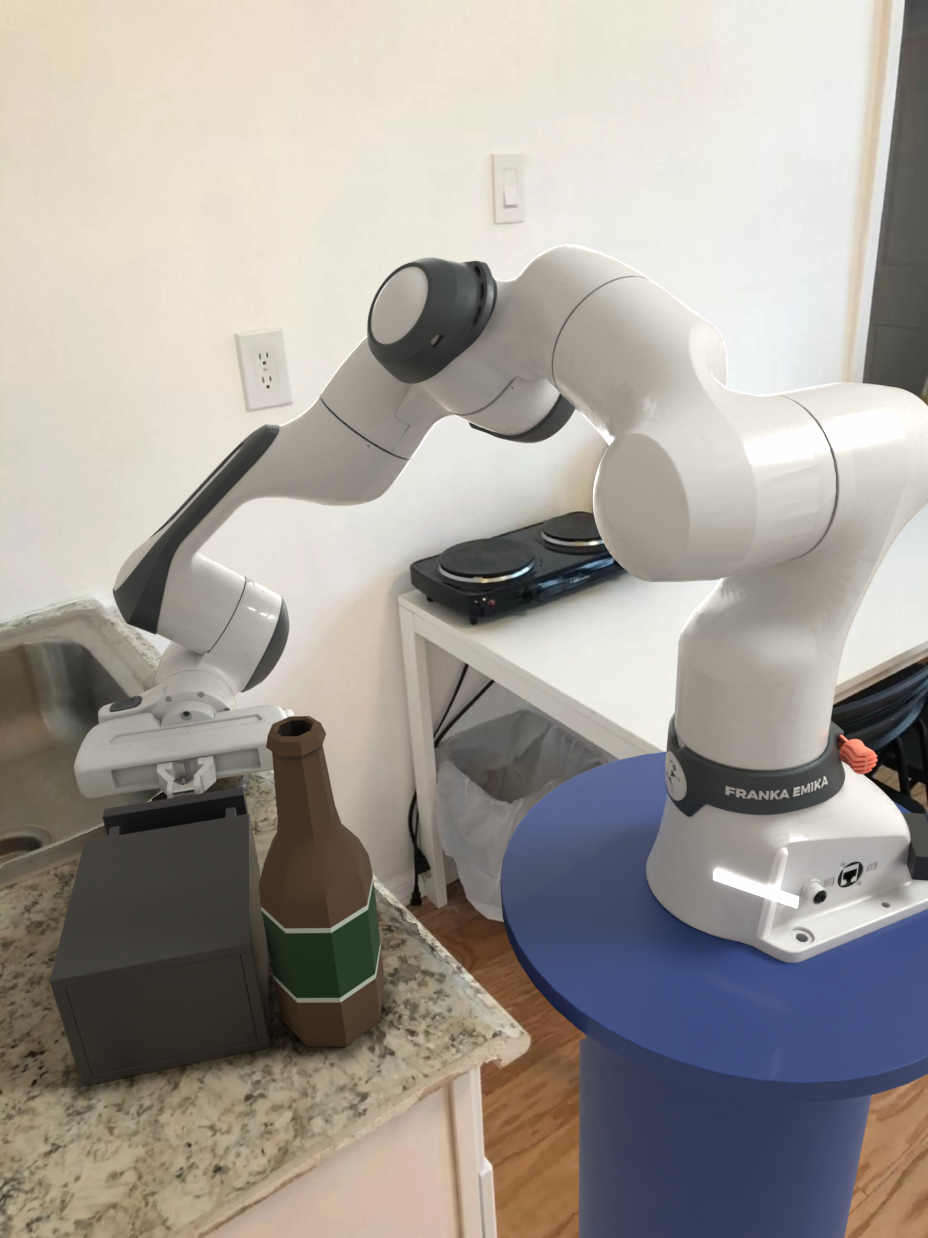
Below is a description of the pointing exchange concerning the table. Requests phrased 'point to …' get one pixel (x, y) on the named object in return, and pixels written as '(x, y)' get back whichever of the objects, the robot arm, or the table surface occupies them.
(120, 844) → the cabinet
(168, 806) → the drawer
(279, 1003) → the beer bottle
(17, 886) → the table surface
